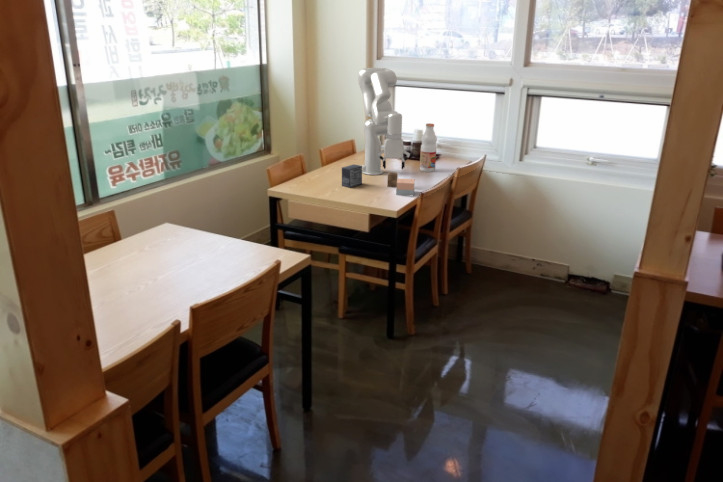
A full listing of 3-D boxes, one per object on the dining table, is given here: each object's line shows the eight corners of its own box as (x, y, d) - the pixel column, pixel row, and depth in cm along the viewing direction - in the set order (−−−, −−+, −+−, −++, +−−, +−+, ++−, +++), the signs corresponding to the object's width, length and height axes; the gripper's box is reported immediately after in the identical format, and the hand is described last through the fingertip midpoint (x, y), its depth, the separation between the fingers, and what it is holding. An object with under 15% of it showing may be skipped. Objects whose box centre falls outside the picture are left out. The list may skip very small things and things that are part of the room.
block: (387, 186, 323) (387, 174, 321) (388, 184, 328) (388, 172, 326) (396, 187, 323) (397, 174, 320) (397, 185, 327) (397, 172, 325)
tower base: (396, 195, 309) (396, 189, 308) (397, 191, 317) (397, 184, 316) (413, 196, 308) (413, 190, 307) (414, 192, 316) (414, 185, 315)
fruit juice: (419, 168, 365) (422, 122, 356) (435, 169, 364) (438, 123, 354) (418, 171, 357) (421, 125, 347) (434, 172, 355) (437, 125, 346)
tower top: (396, 189, 307) (396, 182, 306) (397, 184, 316) (397, 178, 315) (413, 190, 306) (414, 183, 305) (414, 185, 315) (414, 179, 314)
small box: (353, 182, 331) (353, 163, 327) (362, 184, 327) (362, 165, 323) (340, 185, 323) (341, 167, 320) (350, 188, 319) (350, 169, 316)
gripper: (377, 137, 313) (376, 169, 319) (410, 138, 311) (409, 170, 317) (378, 135, 320) (378, 166, 326) (411, 136, 318) (409, 167, 324)
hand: (393, 168), depth 321 cm, fingers open, 9 cm apart
